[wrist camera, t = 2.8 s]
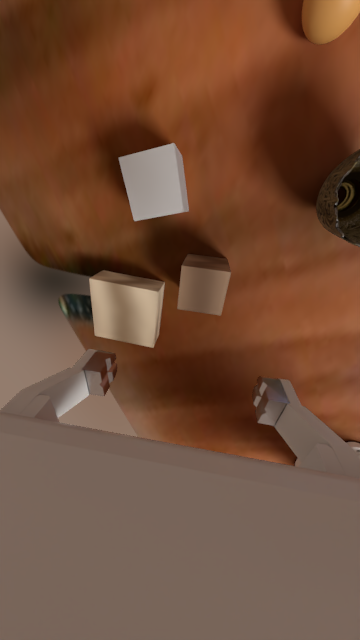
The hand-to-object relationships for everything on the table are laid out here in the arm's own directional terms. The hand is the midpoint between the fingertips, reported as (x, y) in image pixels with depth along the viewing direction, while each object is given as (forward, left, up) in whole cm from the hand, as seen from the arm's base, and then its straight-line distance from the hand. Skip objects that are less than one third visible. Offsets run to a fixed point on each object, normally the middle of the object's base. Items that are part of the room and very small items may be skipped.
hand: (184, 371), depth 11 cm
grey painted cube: (+5, -9, -18) cm, 21 cm away
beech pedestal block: (+9, +6, -18) cm, 21 cm away
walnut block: (-1, 0, -18) cm, 18 cm away
